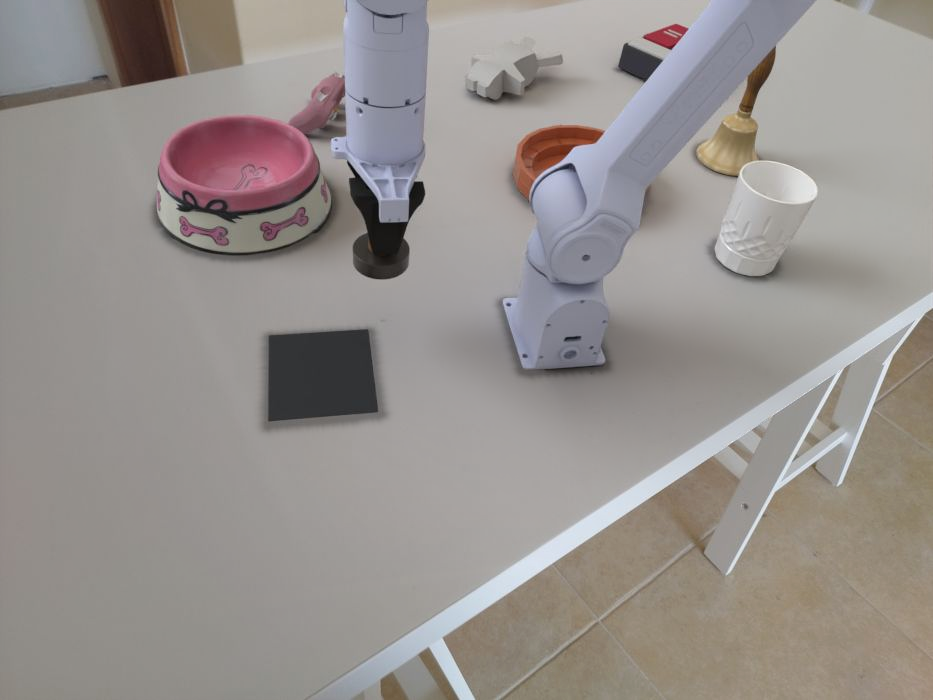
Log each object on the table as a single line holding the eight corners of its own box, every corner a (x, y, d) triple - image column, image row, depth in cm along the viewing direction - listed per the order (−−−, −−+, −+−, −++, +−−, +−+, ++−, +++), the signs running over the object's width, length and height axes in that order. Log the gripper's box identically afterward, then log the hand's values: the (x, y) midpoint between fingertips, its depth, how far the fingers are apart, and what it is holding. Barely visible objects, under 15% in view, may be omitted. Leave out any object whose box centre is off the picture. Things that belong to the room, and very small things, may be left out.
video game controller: (315, 151, 92) (338, 110, 88) (283, 131, 91) (304, 87, 87) (340, 114, 99) (362, 74, 95) (310, 95, 98) (331, 53, 93)
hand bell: (689, 164, 95) (731, 42, 84) (702, 136, 101) (744, 18, 89) (753, 183, 93) (805, 61, 82) (763, 154, 99) (813, 35, 87)
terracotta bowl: (664, 222, 86) (673, 197, 83) (530, 228, 83) (534, 201, 80) (620, 148, 96) (626, 124, 94) (500, 150, 94) (503, 125, 91)
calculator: (735, 44, 114) (686, 65, 105) (725, 71, 117) (677, 94, 108) (675, 20, 118) (623, 38, 110) (667, 46, 121) (616, 66, 113)
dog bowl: (356, 179, 86) (355, 126, 81) (288, 276, 74) (281, 219, 69) (212, 145, 89) (203, 92, 84) (121, 233, 76) (104, 176, 71)
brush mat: (378, 414, 62) (378, 411, 62) (268, 423, 61) (268, 420, 60) (367, 331, 69) (367, 328, 69) (269, 338, 67) (268, 335, 67)
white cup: (695, 241, 83) (725, 165, 76) (751, 231, 86) (785, 156, 79) (735, 286, 79) (771, 208, 71) (794, 274, 81) (834, 197, 74)
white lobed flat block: (450, 58, 101) (522, 20, 108) (451, 92, 105) (520, 53, 112) (501, 84, 97) (572, 43, 104) (499, 118, 101) (568, 76, 108)
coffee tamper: (412, 278, 62) (415, 210, 57) (354, 281, 61) (353, 211, 56) (405, 243, 65) (408, 175, 60) (351, 245, 65) (349, 176, 60)
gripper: (324, 42, 56) (331, 192, 66) (333, 142, 47) (340, 301, 56) (416, 44, 58) (410, 191, 67) (443, 142, 48) (431, 297, 58)
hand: (383, 241), depth 62 cm, fingers closed on coffee tamper, 2 cm apart
